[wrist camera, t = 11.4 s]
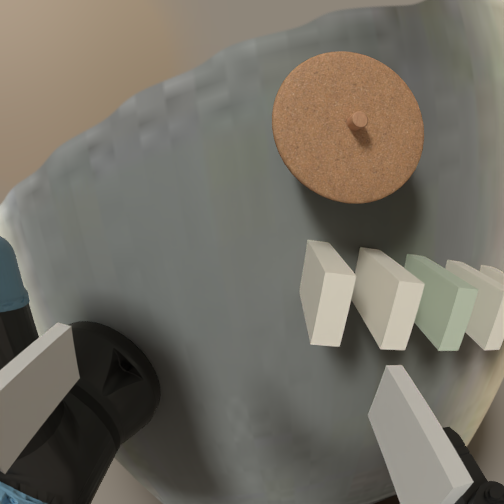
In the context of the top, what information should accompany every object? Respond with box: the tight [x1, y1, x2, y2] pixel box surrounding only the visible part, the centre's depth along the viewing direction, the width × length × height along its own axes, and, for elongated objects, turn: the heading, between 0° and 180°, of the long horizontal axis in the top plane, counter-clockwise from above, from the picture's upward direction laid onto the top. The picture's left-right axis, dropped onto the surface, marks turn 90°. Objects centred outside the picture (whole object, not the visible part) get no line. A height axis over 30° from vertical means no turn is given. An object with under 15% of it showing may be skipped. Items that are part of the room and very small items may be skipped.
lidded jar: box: [272, 51, 424, 204], centre depth 22 cm, size 11×11×9 cm
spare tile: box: [404, 254, 478, 351], centre depth 24 cm, size 2×5×10 cm, turn 173°
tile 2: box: [351, 247, 425, 350], centre depth 24 cm, size 2×5×10 cm, turn 173°
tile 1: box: [299, 240, 356, 347], centre depth 25 cm, size 2×5×10 cm, turn 173°
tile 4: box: [445, 260, 504, 350], centre depth 24 cm, size 2×5×10 cm, turn 173°
